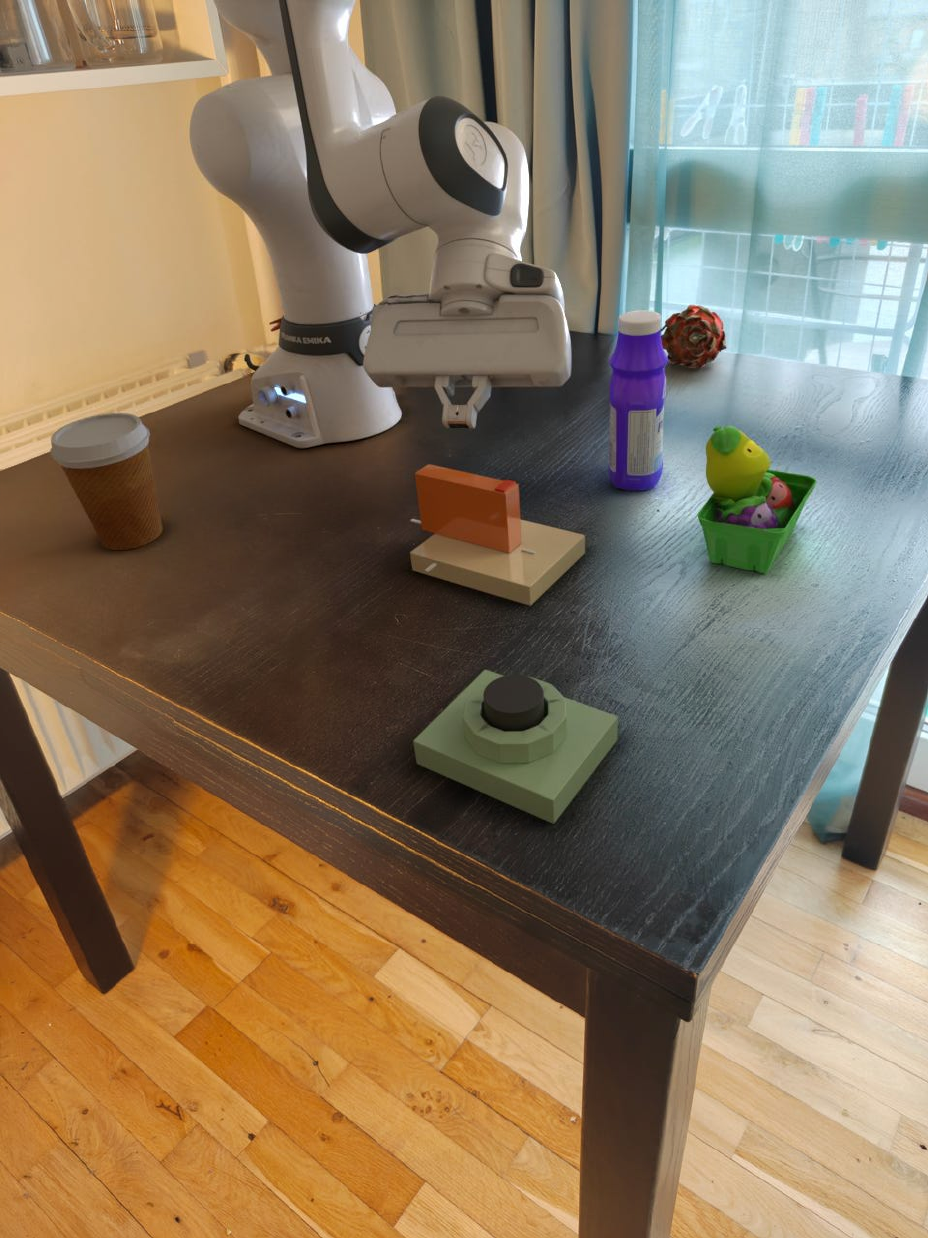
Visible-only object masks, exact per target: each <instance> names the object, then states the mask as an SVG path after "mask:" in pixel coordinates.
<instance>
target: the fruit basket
mask: <svg viewBox="0 0 928 1238" xmlns="http://www.w3.org/2000/svg"><path fill="white" fill-rule="evenodd" d="M712 431H713V433H712V434H711V435H710V437H709V439H708V440H707V442H706V444H705V454H706V465H705V477H706V482H707V484H708V487H709V488H710V489H711V491H712V492H713V493H712V494H711V496H710V497H709V498H708V500H707V501H706V502H705V503H704V505H702V507H701V509H700V510H699V511H698V513H697V519H698V522H699V525H700V526H701V528H702V531H703V532H702V533H703V537H704V542H705V545H706V549H707V555H708V558H709V562H710V563H712V564H722V565H724V566H727V567H731V568H736V569H740V570H746V571H755V572H757V573H759V574H764V575H765V574H767V573H768V572H769V571H770V569H771V567H772V566H773V563H774V561H775V560H776V559H777V557H778V556H779V554H780V553H781V550H782V548H783V547H784V546H785V545H786V543H787V541H788V539H789V536H790V535H792V533H793V531H794V529H795V528H796V525H797V522H798V520H799V519H800V516H801V514H802V511H803V509H804V507H805V505H806V503H807V500H808V499H809V498H810V496H811V494H812V492H813V491H814V489H815V487H816V484H817V482H818V480H817V479H816V478H814V477H813V476H811V475H807V474H799V473H793V472H786V471H781V470H775V469H770V468H771V460H770V457H769V455H768V454H767V452H766V451H765V450H764V449H763V448H762V447H761V446H759V444H758V443H756V442H755V441H754V440H753V439H751V438H749V437H748V436H747V435H746V434H745V433H744V432H743V431H741V430H739V429H738V428H737V427H735V426H733V425H726V426H723V427H722V426H721V425H717V426H715V427H714V428H712Z"/></svg>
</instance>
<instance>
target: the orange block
mask: <svg viewBox="0 0 928 1238" xmlns="http://www.w3.org/2000/svg"><path fill="white" fill-rule="evenodd" d="M414 479H415V486H416V495H417V501H418V502H417V503H418V510H419V517H420V518H419V519H420V521H421V524H420V526H421V530H422V531H425V532H429V533H432V534H435V533H436V534H440V535H443V536H447V537H451V538H455V539H458V540H462V541H466V542H469V543H473V544H477V545H481V546H484V547H488V548H492V549H495V550H499V551H503V552H507V553H510V552H511V551H512V550H514V549H515V548H516V547H517V546H518V545H519V544H520V543H522V539H521V520H522V519H521V505H520V504H521V503H520V502H521V501H520V487H519V485H520V484H519V483H517V482H516V481H515V480H510V479H505V480H504V479H503V480H502V479H498V478H494V477H488V476H484V475H480V474H475V473H471V472H467V471H462V470H457V469H454V468H448V467H443V466H439V465H435V464H429V463H428V464H427V465H425V466H423V467H422V468H420V469H419V470H417V471H416V472H415V473H414ZM520 519H521V520H520Z"/></svg>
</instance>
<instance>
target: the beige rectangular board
mask: <svg viewBox="0 0 928 1238" xmlns="http://www.w3.org/2000/svg"><path fill="white" fill-rule="evenodd" d="M520 520H521V539H522V543H520V544H519V545H518V546H517V547H516V548H515V549H514V550H512V551H511V552H510V553H507V552H503V551H499V550H495V549H492V548H488V547H484V546H481V545H477V544H473V543H469V542H466V541H462V540H458V539H455V538H451V537H447V536H443V535H440V534H436V533H433V534H432V535H431V536H429V537H428V538H427V539H426V540H425V541H423V542H422V543H421V544H419V545H418V546H417V547H415V548H414V549H413V550H411V551H410V552H409V555H410V563H411V570H412V571H414V572H416V573H419V574H423V575H427V576H430V577H433V578H436V579H440V580H444V581H447V582H449V583H453V584H456V585H460V586H463V587H466V588H470V589H473V590H476V591H480V592H483V593H486V594H490V595H493V596H496V597H498V598H499V597H500V598H502V599H506V600H510V601H513V602H517V603H519V604H522V605H525V606H526V605H527V606H533V604H535V602H536V601H537V600H539V599H540V598H541V597H542V595H544V594H545V593H546V592H547V590H549V589H550V588H551V587H552V586H553V585H554V584H555V583H556V582H557V581H558V580H559V579H560V578H561V577H562V576H563V575H564V574H565V573H566V572H568V571H569V570H570V569H571V567H573V566H574V564H576V563H577V562H578V561H579V560H580V559H581V558H582V557H583V556H584V555H585V554H586V535H585V534H582V533H577V532H573V531H570V530H566V529H562V528H558V527H553V526H549V525H545V524H542V523H537V522H534V521H529V520H524V519H521V518H520ZM409 521H410V522H411V523H415V524H418V525H421V520H419V519H415V518H411V519H410V520H409Z"/></svg>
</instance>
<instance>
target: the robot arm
mask: <svg viewBox="0 0 928 1238" xmlns="http://www.w3.org/2000/svg"><path fill="white" fill-rule="evenodd" d="M356 2H357V0H213V3H214V5H215V8H216V9H217V12H218V14H220V16H221V18H222V19H223V20H224V21H225V22H226V23H227V24H228V25H229V26H230V27H232V28H233V29H235V30H237V31H238V32H240V33H242V34H243V35H245V36H246V37H247V38H248V39H249V40H250V41H251V42H253V44H254V46H256V48H257V49H258V50H259V52H260V54H261V56H262V57H263V58H264V61H265V63H266V65H267V66H268V69H269V71H270V74H271V75H265V76H258V77H257V76H256V77H251V78H244V79H237V80H234V81H232V82H230V83H228V84H226V85H223V86H221V87H218V88H217V89H214V90H213V91H210V92H209V93H206V94H205V95H203V96H201V97H200V98H199V99H198V100H197V101H196V103H195V105H194V107H193V110H192V112H191V117H190V121H189V132H188V133H189V143H190V149H191V153H192V156H193V159H194V161H195V164H196V166H197V168H198V170H199V171H200V173H201V175H202V176H203V178H205V180H206V181H207V182H208V184H210V186H212V188H213V189H215V190H216V191H217V192H218V193H220V195H223V196H225V197H226V198H228V199H229V200H231V202H233V203H235V204H236V205H237V206H238V207H239V208H240V209H241V210H242V211H243V212H244V214H245V215H246V216H247V217H248V218H249V220H250V221H251V222H252V224H253V225H254V227H255V229H256V231H258V233H259V235H260V237H261V239H262V240H263V243H264V245H265V247H266V250H267V253H268V255H269V258H270V261H271V266H272V269H273V273H274V277H275V281H276V286H277V291H278V295H279V300H280V304H281V308H282V313H283V314H282V316H281V317H280V318H278V319H275V320H273V321H269V323H268V325H274V324H276V325H274V326H273V327H272V328H271V329H270V332H271V333H273V332H275V331H278V330H279V334H278V342H277V343H278V346H277V347H276V349H275V350H274V351H272V353H271V354H270V355H269V356H268V357H267V358H266V360H265V361H264V362H263V363H262V364H261V365H256V364H254V363H253V362H252V358H251V356H250V354H249V353H246V354H245V355H244V359H243V361H244V362H245V364H246V365H247V367H248V368H249V370H251V371H254V373H253V374H252V377H251V381H250V390H251V398H252V404H250V405H249V406H247V407H246V408H244V409H243V410H242V411H241V412H240V413H239V415H238V418H237V419H238V424H239V425H241V426H244V427H245V428H248V429H250V430H252V431H256V432H257V433H260V434H262V435H265V436H266V437H270V438H272V439H275V440H276V441H279V442H282V443H284V444H287V445H289V446H292V447H294V448H296V449H307V448H313V447H317V446H320V445H324V444H332V443H344V442H351V441H357V440H362V439H366V438H369V437H373V436H376V435H378V434H380V433H383V432H385V431H388V430H389V429H390V428H392V427H393V426H395V425H396V424H397V423H398V422H399V421H400V420H401V418H402V415H403V413H402V410H401V408H400V407H401V406H399V402H398V400H397V396H396V393H395V391H394V389H393V388H434V389H435V392H436V393H437V396H438V399H439V400H440V403H441V404H442V415H441V417H442V418H441V423H442V426H443V427H444V428H445V429H476V426H477V417H478V413H479V412H480V411H481V410H482V409H483V407H484V405H486V403H487V402H488V401H489V399H490V398H491V395H492V394H491V393H492V388H539V387H540V388H542V387H543V388H544V387H545V388H559V387H562V386H564V384H566V383H567V381H568V380H569V379H570V378H571V375H572V342H571V341H572V340H571V334H570V331H569V326H568V325H569V324H568V321H567V317H566V315H565V311H566V310H565V307H566V306H565V305H566V304H565V297H564V296H565V295H564V291H563V288H562V285H561V283H560V280H559V277H558V276H557V274H556V272H555V271H554V270H552V268H551V269H550V268H548V267H545V266H541V265H538V264H533V263H530V262H527V261H523V259H522V255H521V246H522V243H523V241H524V239H525V235H526V232H527V227H528V217H529V207H530V206H529V204H530V203H529V202H530V174H529V166H528V159H527V155H526V150H525V147H524V145H523V143H522V141H521V140H520V139H519V137H518V136H517V135H516V134H515V133H514V132H513V131H512V130H510V129H509V128H508V127H506V126H504V125H502V124H499V123H497V122H493V121H483V120H482V119H480V117H479V116H477V115H476V114H475V113H474V112H473V111H472V110H470V109H469V108H468V107H466V106H465V105H464V104H462V103H461V102H459V101H457V100H455V99H453V98H450V97H447V96H444V95H436V96H433V97H431V98H427V99H425V100H423V101H421V102H418V103H416V104H414V105H412V106H409V107H407V108H405V109H403V110H401V111H399V112H397V111H396V107H395V102H394V100H393V97H392V95H391V93H390V91H389V89H388V88H387V86H386V85H385V83H384V82H383V81H382V79H380V78H379V77H378V76H377V75H376V74H374V73H373V72H372V71H371V70H370V69H369V68H368V67H366V66H365V64H364V63H362V61H361V60H360V59H359V58H358V56H357V54H356V53H355V51H354V50H353V49H352V47H351V46H350V44H349V29H350V22H351V16H352V12H353V11H354V10H353V9H354V7H355V5H356ZM425 228H429V229H430V230H432V231H433V232H434V234H436V236H437V244H436V247H435V249H434V252H433V257H432V264H431V265H432V266H431V273H430V281H429V289H428V293H414V294H407V295H401V294H391V295H388V296H387V298H386V299H383V300H381V301H380V302H379V303H377V304H376V303H375V302H374V297H373V295H374V294H373V290H372V288H373V287H372V281H371V273H370V268H369V259H368V254H370V253H373V252H375V251H377V250H378V249H380V248H382V247H384V246H386V245H388V244H391V243H393V242H395V241H396V240H397V239H399V238H401V237H404V236H406V235H409V234H412V233H414V232H416V231H419V230H423V229H425ZM456 388H472V389H473V391H474V392H473V393H472V394H471V397H470V398H469V399H468V401H467V403H466V404H452V402H451V400H450V398H449V397H454V396H455V391H456Z"/></svg>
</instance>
